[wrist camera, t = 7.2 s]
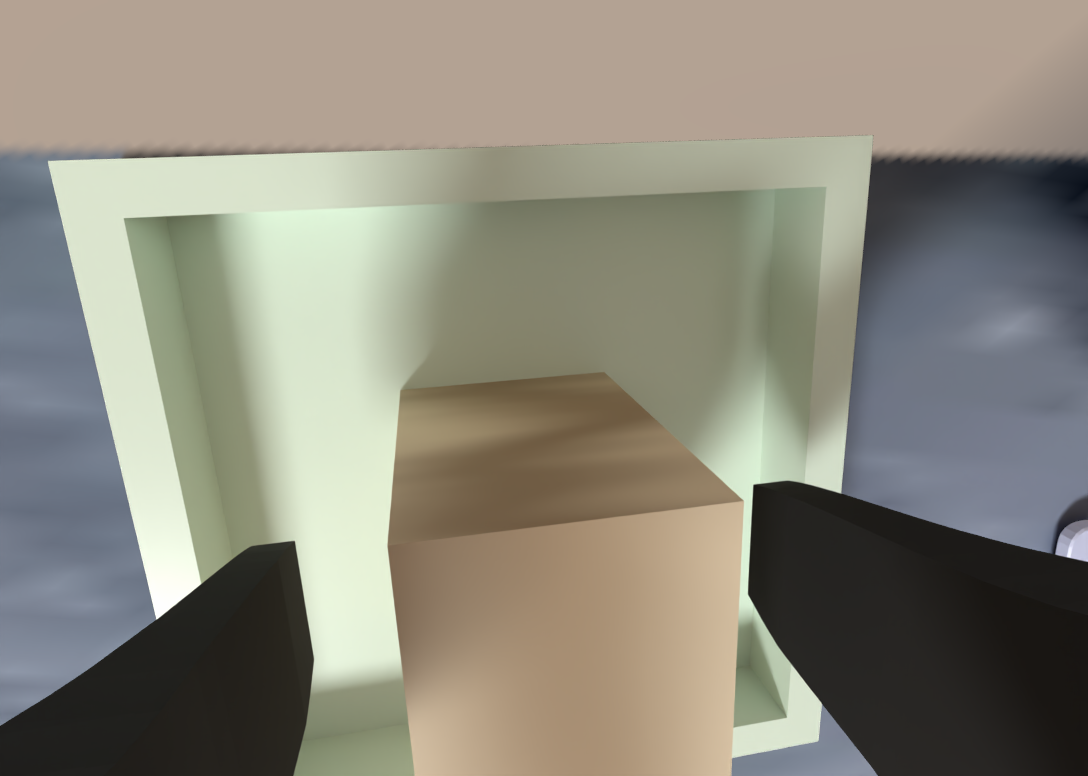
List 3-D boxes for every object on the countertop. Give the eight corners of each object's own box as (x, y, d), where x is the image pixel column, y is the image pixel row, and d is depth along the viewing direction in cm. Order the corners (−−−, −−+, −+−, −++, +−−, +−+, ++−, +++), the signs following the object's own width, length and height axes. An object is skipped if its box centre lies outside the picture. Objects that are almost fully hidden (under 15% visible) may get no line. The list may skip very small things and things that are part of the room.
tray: (801, 145, 13) (873, 134, 11) (768, 674, 17) (818, 741, 15) (115, 167, 11) (48, 161, 9) (242, 765, 15) (213, 857, 13)
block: (604, 372, 13) (743, 500, 8) (607, 590, 15) (727, 836, 9) (400, 389, 13) (387, 545, 7) (424, 617, 14) (429, 901, 8)
